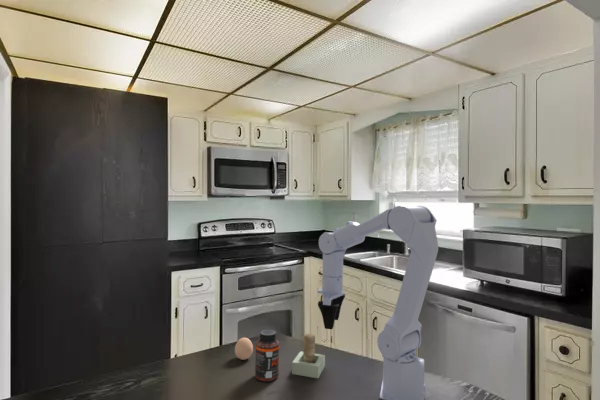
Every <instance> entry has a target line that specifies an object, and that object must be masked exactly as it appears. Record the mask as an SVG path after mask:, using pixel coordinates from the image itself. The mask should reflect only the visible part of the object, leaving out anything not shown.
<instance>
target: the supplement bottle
mask: <svg viewBox="0 0 600 400" xmlns="http://www.w3.org/2000/svg"><path fill="white" fill-rule="evenodd" d="M254 365H255V366H254V367H255V369H254V370H255V371H254V373H255V374H254V376H255V378H256V379H257V380H259V381H260V382H272V381H275V380H276V379H277V378H278V377H279V372H280V340H278V339H277V331H276V330H273V329H264V330H261V331H260V332H259V339H257V341H256V342H255V364H254Z"/></svg>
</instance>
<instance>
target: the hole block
mask: <svg viewBox="0 0 600 400" xmlns="http://www.w3.org/2000/svg"><path fill="white" fill-rule="evenodd" d="M291 363H292V364H291V374H292V375H297V376H302V377H307V378H311V379H312V378H313V379H319V378H320V376H321V374H322V373H323V370H324V369H325V366H326V355H325V354H321V353H315V364H314V363H308V362H303V351H302V350H301V351H299V352H298V354H297V355H296V356H295V357H294V360H292V362H291Z"/></svg>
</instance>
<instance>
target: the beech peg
mask: <svg viewBox="0 0 600 400" xmlns="http://www.w3.org/2000/svg"><path fill="white" fill-rule="evenodd" d="M315 350H316V335H315V334H313V333H305V334H304V335H303V351H302V352H303V362H308V363H314V364H315V354H316V351H315Z"/></svg>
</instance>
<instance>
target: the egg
mask: <svg viewBox="0 0 600 400" xmlns="http://www.w3.org/2000/svg"><path fill="white" fill-rule="evenodd" d="M234 353H235V356H236V357H237V359H239V360H242V361H243V360H244V361H245V360H248V359H249V358H250V357H251V356H252V355H253V353H254V344H253V343H252V341H251V340H250V339H249V338H248V337H241V338H239V340H237V342H236V344H235V346H234Z"/></svg>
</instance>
